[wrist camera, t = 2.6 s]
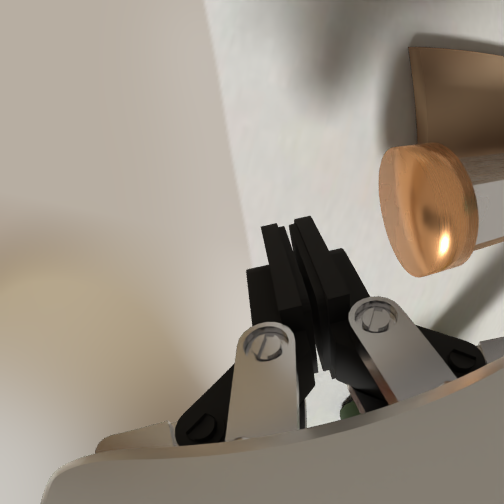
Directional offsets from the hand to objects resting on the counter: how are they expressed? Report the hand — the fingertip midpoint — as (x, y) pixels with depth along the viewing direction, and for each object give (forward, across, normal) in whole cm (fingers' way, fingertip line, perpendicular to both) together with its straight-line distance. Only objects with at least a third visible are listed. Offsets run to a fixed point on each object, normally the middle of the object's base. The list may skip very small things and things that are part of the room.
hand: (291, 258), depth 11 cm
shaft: (+5, -13, 0) cm, 14 cm away
